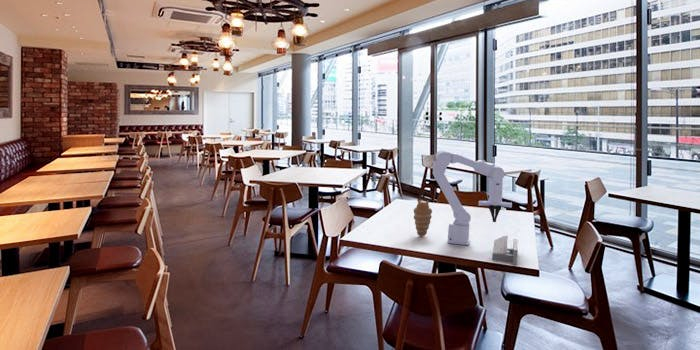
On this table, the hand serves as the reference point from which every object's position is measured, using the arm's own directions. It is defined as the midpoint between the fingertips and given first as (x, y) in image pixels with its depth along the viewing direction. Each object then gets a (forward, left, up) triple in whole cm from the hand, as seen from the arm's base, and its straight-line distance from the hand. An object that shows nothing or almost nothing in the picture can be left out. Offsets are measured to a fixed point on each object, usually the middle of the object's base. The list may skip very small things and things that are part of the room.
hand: (494, 221), depth 214 cm
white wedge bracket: (+4, -21, -11) cm, 24 cm away
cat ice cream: (-33, 0, -11) cm, 35 cm away
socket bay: (+5, -20, -10) cm, 23 cm away
